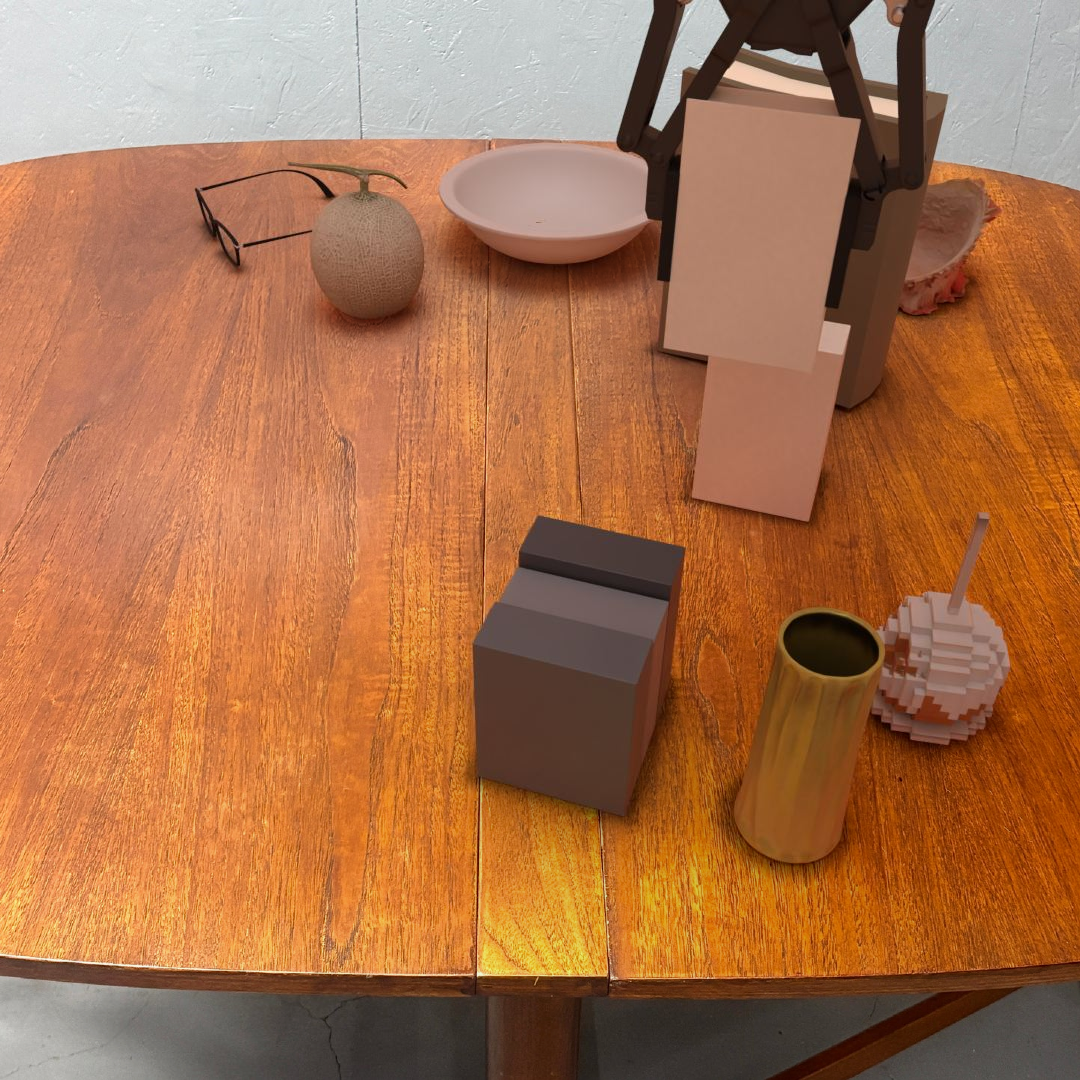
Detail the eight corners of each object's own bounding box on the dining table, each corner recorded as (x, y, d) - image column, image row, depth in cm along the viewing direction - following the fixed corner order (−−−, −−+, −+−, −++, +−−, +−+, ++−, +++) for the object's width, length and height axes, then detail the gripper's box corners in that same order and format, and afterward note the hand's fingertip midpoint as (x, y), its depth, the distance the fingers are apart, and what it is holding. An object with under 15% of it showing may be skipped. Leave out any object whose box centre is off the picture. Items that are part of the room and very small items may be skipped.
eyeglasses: (193, 218, 126) (186, 183, 124) (329, 192, 132) (325, 157, 129) (238, 280, 115) (231, 243, 112) (384, 248, 121) (381, 212, 118)
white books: (808, 522, 86) (843, 354, 77) (691, 498, 88) (711, 331, 79) (820, 475, 91) (854, 311, 82) (708, 453, 93) (729, 291, 84)
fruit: (455, 302, 112) (449, 151, 103) (374, 349, 105) (359, 192, 95) (376, 271, 117) (363, 124, 107) (294, 315, 110) (272, 162, 100)
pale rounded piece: (858, 649, 76) (907, 466, 66) (979, 666, 75) (1047, 482, 65) (861, 738, 70) (915, 551, 61) (993, 757, 69) (1069, 570, 60)
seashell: (875, 244, 127) (782, 276, 119) (892, 145, 121) (795, 171, 113) (1011, 292, 116) (917, 330, 108) (1037, 186, 110) (940, 218, 102)
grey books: (624, 817, 65) (637, 677, 58) (476, 776, 68) (471, 636, 60) (669, 684, 73) (686, 546, 66) (536, 651, 76) (537, 514, 68)
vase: (859, 856, 64) (916, 677, 55) (754, 874, 63) (794, 695, 54) (817, 770, 68) (863, 592, 59) (718, 786, 67) (750, 607, 58)
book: (890, 373, 103) (959, 89, 87) (856, 416, 97) (922, 121, 81) (699, 314, 111) (729, 43, 95) (657, 350, 105) (682, 70, 89)
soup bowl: (400, 230, 125) (396, 170, 120) (582, 183, 135) (584, 126, 131) (520, 322, 109) (520, 258, 105) (714, 261, 120) (721, 200, 115)
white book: (811, 374, 68) (860, 119, 58) (663, 348, 70) (686, 98, 60) (817, 353, 70) (865, 103, 60) (672, 328, 72) (696, 83, 62)
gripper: (1063, -163, 53) (945, 284, 67) (606, -192, 58) (588, 230, 72) (1068, -133, 47) (938, 346, 62) (562, -168, 52) (552, 283, 67)
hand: (750, 283), depth 67 cm, fingers closed on white book, 9 cm apart
